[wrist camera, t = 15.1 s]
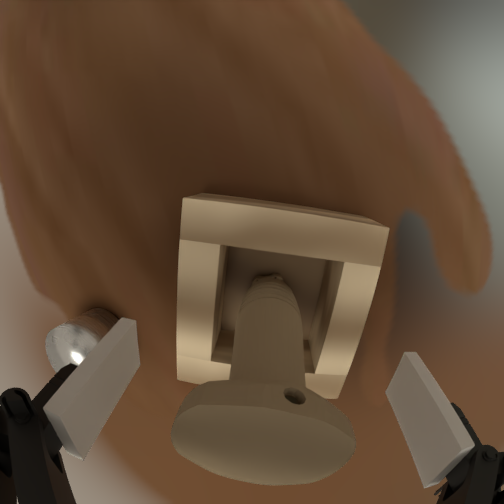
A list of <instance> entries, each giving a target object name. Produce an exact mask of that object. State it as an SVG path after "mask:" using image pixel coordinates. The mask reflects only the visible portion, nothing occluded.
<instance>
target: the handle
mask: <svg viewBox="0 0 504 504" xmlns="http://www.w3.org/2000/svg"><path fill="white" fill-rule="evenodd" d="M171 441H172V443H173V446H174V447H175V449H176V450H177V452H178V453H179V454H180V455H182V456H184V457H185V458H187V459H188V460H190V461H192V462H193V463H195V464H197V465H199V466H201V467H202V468H204V469H206V470H208V471H211V472H213V473H215V474H218V475H221V476H225V477H228V478H232V479H236V480H240V481H245V482H249V483H255V484H262V485H293V484H305V483H312V482H315V481H318V480H321V479H323V478H326V477H327V476H329V475H331V474H333V473H334V472H336V471H337V470H339V469H340V468H341V467H343V465H345V464H346V462H348V461H349V459H350V458H351V457H352V455H353V454H354V452H355V448H356V439H355V435H354V432H353V428H352V425H351V422H350V420H349V419H348V418H347V417H346V416H345V415H344V414H343V413H342V412H341V411H340V410H339V409H338V408H336V407H335V406H334V405H333V404H331V403H330V402H329V401H327V400H326V399H324V398H323V397H321V396H320V395H318V394H317V393H315V392H313V391H312V390H310V389H308V388H307V387H306V382H305V367H304V349H303V328H302V320H301V315H300V310H299V307H298V304H297V301H296V298H295V296H294V294H293V292H292V290H291V288H290V287H288V285H287V284H285V283H284V281H283V278H282V276H281V275H280V274H278V273H273V274H271V275H269V276H259V275H258V276H257V277H255V278H254V280H253V282H252V286H251V287H250V288H249V289H248V291H247V292H246V294H245V296H244V298H243V300H242V303H241V305H240V308H239V311H238V315H237V320H236V326H235V336H234V345H233V355H232V362H231V369H230V376H229V380H219V381H208V382H206V383H203V384H201V385H199V386H198V387H196V388H194V389H193V390H192V391H191V392H190V393H189V394H188V395H187V396H186V398H185V399H184V401H183V403H182V405H181V406H180V408H179V411H178V413H177V415H176V418H175V421H174V423H173V426H172V430H171Z"/></svg>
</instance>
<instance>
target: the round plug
mask: <svg viewBox="0 0 504 504" xmlns="http://www.w3.org/2000/svg"><path fill="white" fill-rule="evenodd" d="M118 321H119V320H118V319H117V317H116V316H114V315H113V314H112V313H110V312H109V311H107V310H105V309H102V308H93V309H90V310H88V311H86V312H85V313H83V314H81V315H79V316H77V317H75V318H73V319H71V320H69V321H67V322H66V323H64V324H62V325H60V326H58V327H56V328H54V329H52V330H51V331H50V332H49V333H48V334H47V337H46V352H47V356H48V359H49V361H50V363H51V365H52V367H53V369H54V370H55V372H56V373H57V372H58V371H59V370H60V369H61V368H62V367H64V366H66V365H68V364H70V363H72V364H75V365H77V366H79V364H80V363H81V362H82V361H83V360H84V359H85V358H86V356H87V355H88V354H89V353H90V352H91V351H92V350H93V349H94V347H95V346H96V345H97V344H98V343H99V342H100V341H101V340H102V338H103V337H104V336H105V335H106V334H107V333H108V332H109V331H110V330H111V329H112V328H113V326H114V325H115V324H116V323H117V322H118Z"/></svg>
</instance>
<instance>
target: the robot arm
mask: <svg viewBox="0 0 504 504" xmlns="http://www.w3.org/2000/svg"><path fill="white" fill-rule="evenodd" d="M139 366H140V359H139V350H138V339H137V327H136V320H131V319H127V318H123V317H122V318H121V319H120V320H119V321H118V322H117V323H116V324H115V325H114V326H113V328H112V329H111V330H110V331H109V332H108V333H107V334H106V335H105V336H104V337H103V338H102V340H101V341H100V342H99V343H98V344H97V345H96V346H95V347H94V349H93V350H92V351H91V352H90V353H89V354H88V355H87V356H86V358H85V359H84V360H83V361H82V362H81V363H80V364H79V366H77V365H75V364H72V363H70V364H68V365H66V366H64V367H62V368H61V369H60V370H59V371H58V372H57V373H56V374H55V375H54V377H53V378H52V379H51V380H50V381H49V383H47V384H46V385H45V387H44V388H43V389H42V390H41V391H40V392H39V393H38V395H37V396H36V397H35V398H34V399H33V400H32V401H31V399H30V397H29V394H28V393H27V392H26V391H25V390H23V389H21V388H11V389H7V390H6V391H4V392H3V393H2V395H1V396H0V405H1V406H0V504H17V498H18V502H19V504H76V502H75V499H74V496H73V493H72V490H71V487H70V484H69V481H68V478H67V475H66V471H65V468H64V464H63V461H62V457H61V454H60V452H59V450H60V449H61V447H62V445H63V447H64V448H65V450H66V452H67V453H69V454H70V455H73V456H74V457H76V458H79V459H81V460H83V461H84V459H85V457H86V456H87V454H88V452H89V450H90V449H91V447H92V445H93V443H94V442H95V440H96V438H97V436H98V435H99V433H100V431H101V429H102V428H103V426H104V424H105V423H106V421H107V419H108V417H109V416H110V414H111V412H112V411H113V409H114V407H115V406H116V404H117V402H118V401H119V399H120V397H121V396H122V394H123V392H124V391H125V389H126V387H127V386H128V384H129V382H130V381H131V379H132V378H133V376H134V374H135V373H136V371H137V369H138V368H139ZM385 393H386V395H387V397H388V399H389V402H390V404H391V406H392V408H393V411H394V413H395V415H396V418H397V420H398V422H399V425H400V427H401V430H402V432H403V434H404V437H405V439H406V442H407V444H408V447H409V449H410V452H411V454H412V457H413V459H414V462H415V465H416V467H417V470H418V473H419V475H420V478H421V481H422V484H423V486H424V488H426V487H430V486H433V485H436V484H438V483H439V482H440V481H441V480H442V479H444V478H445V477H446V478H447V480H448V481H447V482H446V483H445V484H444V485H443V486H442V487H440V488H439V489H438V490H437V491H436V492H435V494H434V495H437V494H438V493H439V492H440V491H441V490H442V491H441V494H440V495H439V499H438V501H437V504H504V490H503V491H501V486H502V485H504V452H498V451H497V450H496V449H495V448H494V447H492V446H490V445H482V444H481V442H480V440H479V438H478V437H477V435H476V433H475V432H474V430H473V428H472V427H471V425H470V424H469V422H468V420H467V419H466V418H465V415H464V414H463V412H462V411H461V409H460V408H459V407H458V406H456V405H455V404H454V403H450V402H449V400H448V399H447V397H446V396H445V394H444V393H443V391H442V390H441V388H440V387H439V385H438V383H437V382H436V380H435V379H434V377H433V376H432V374H431V373H430V371H429V370H428V369H427V367H426V366H425V364H424V363H423V361H422V360H421V358H420V357H419V356H418V354H417V353H416V352H404V354H403V356H402V359H401V361H400V363H399V365H398V368H397V369H396V372H395V374H394V376H393V378H392V380H391V382H390V384H389V386H388V388H387V390H386V392H385Z"/></svg>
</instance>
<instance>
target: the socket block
mask: <svg viewBox="0 0 504 504" xmlns="http://www.w3.org/2000/svg"><path fill="white" fill-rule="evenodd" d="M388 233H389V228H388V227H386V226H384V225H382V224H380V223H378V222H376V221H374V220H371V219H369V218H367V217H365V216H360V215H354V214H349V213H343V212H337V211H331V210H325V209H319V208H313V207H307V206H300V205H294V204H287V203H280V202H273V201H266V200H258V199H250V198H242V197H234V196H226V195H217V194H208V193H200V194H196V195H192V196H189V197H185V198H183V203H182V215H181V228H180V243H179V261H178V285H177V380H181V381H186V382H191V383H196V384H203V383H206V382H208V381H219V380H229V376H230V369H231V362H232V355H233V345H234V336H235V326H236V320H237V315H238V311H239V308H240V305H241V303H242V300H243V298H244V296H245V294H246V292H247V291H248V289H249V288H250V287H251V286H252V282H253V280H254V278H255V277H257V276H258V275H259V276H269V275H271V274H273V273H278V274H280V275H281V276H282V278H283V281H284V283H285V284H287V285H288V287H290V288H291V290H292V292H293V294H294V296H295V298H296V301H297V304H298V307H299V310H300V315H301V320H302V328H303V349H304V367H305V382H306V387H307V388H308V389H310V390H312V391H313V392H315V393H317V394H318V395H320V396H321V397H323V398H330V399H337V398H338V396H339V394H340V391H341V388H342V386H343V384H344V381H345V378H346V376H347V373H348V371H349V368H350V366H351V363H352V360H353V357H354V355H355V352H356V349H357V346H358V343H359V341H360V338H361V335H362V332H363V328H364V325H365V322H366V319H367V316H368V312H369V309H370V306H371V302H372V299H373V295H374V292H375V288H376V284H377V280H378V277H379V273H380V269H381V265H382V260H383V256H384V252H385V247H386V243H387V238H388Z"/></svg>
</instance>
